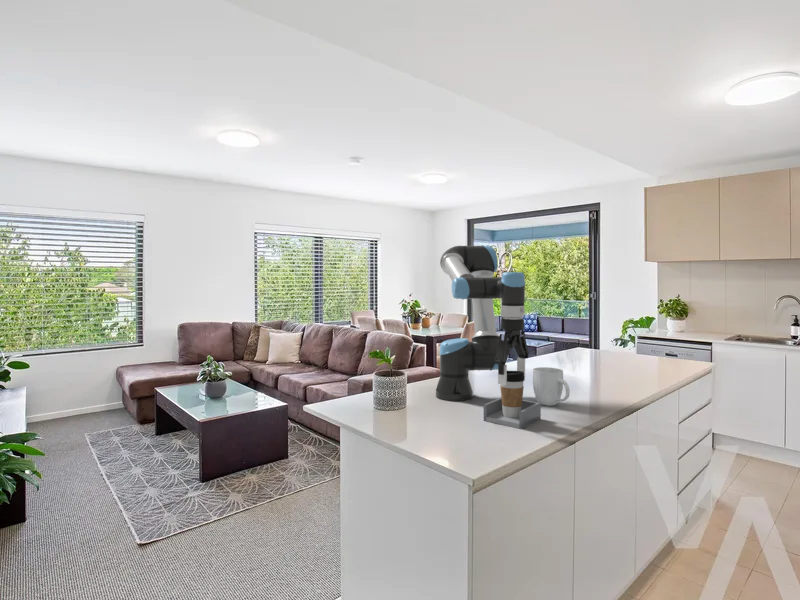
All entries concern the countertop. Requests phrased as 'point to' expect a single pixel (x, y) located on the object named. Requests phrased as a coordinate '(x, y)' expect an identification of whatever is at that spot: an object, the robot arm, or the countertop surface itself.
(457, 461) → the countertop surface
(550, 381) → the mug
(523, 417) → the dock
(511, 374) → the coffee cup
